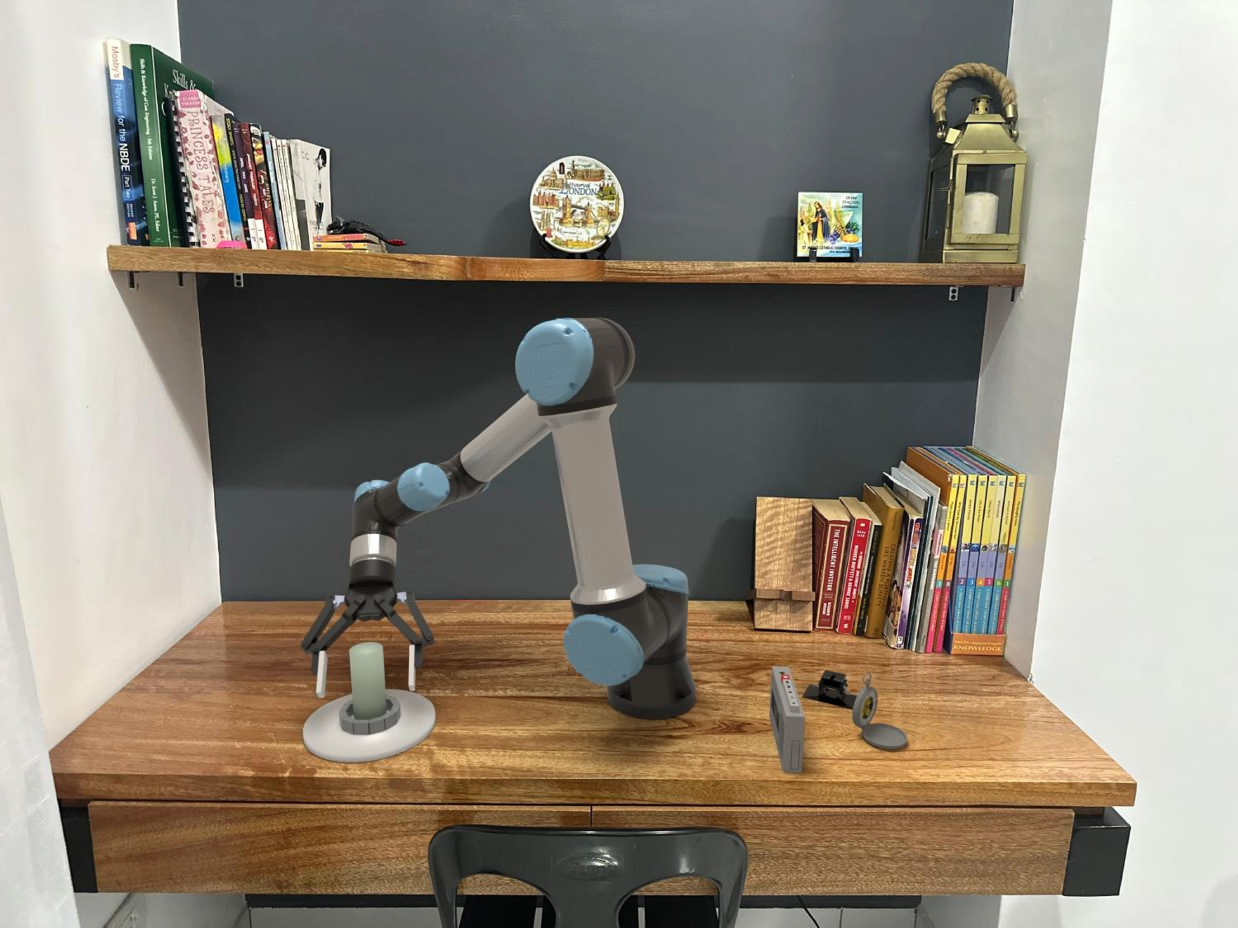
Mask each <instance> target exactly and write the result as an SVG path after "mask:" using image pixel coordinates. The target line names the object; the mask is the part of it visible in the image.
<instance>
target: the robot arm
mask: <svg viewBox="0 0 1238 928" xmlns="http://www.w3.org/2000/svg"><path fill="white" fill-rule="evenodd" d="M516 351H517V352H516V356H515V375H516V376H515V377H516V379H517V383H518V384H519V386H520V389H521V391H523V393H524V394H525V395H524V396H522V397H521V398H520V399H519V400H517V402H516V403H515V404H513V405H512V406H511V407H510V408H509V409H507V411H505V412H504V413H503V414H502V415H500V416H499V417H498V418H497V419H495V421H494V422H492V423H491V424H489V426H487V428H485V429H484V430H483V431H482V432H481V433H479V435H478V436H476V437H475V438H473V440H471V441H470V442H469V443H468V444H466V445H465V447H462V449H461V450H460V451H459V452H458V453H456V454H455V455H454V456H453V457H452V458H451V459H449V460H447V461H443V462H441V463H437V464H433V463H432V464H431V463H430V462H421V463H419V464H417V465H416V466H413V467H410V468H408V469H406V470H405V471H404V472H403V473H402V474H400V475H399V476H398V477H396V478H394V479H392V481H390V482H389V481H386V480H381V479H373V480H371V481H365V482H363V483H361V484H359V486H358V487H357V488H356V490H355V492H354V493H355V494H354V501H353V504H352V524H351V525H352V526H351V538H350V539H351V543H350V552H349V566H350V567H349V569H348V570H349V571H348V584H347V592H346V593H345V595H335V593H334V592H329V593H327V594H326V598H325V602H324V606H323V608H322V609H321V610H320V613H319V614H318V615H317V617H316V619H315V621H314V622H313V624H312V625H311V627H310V628H309V630H308V632H306V635H305V636H304V637H303V640H302V641H301V642H300V647H301V649H302V650H303V651H302V652H303V653H304V654H310V655H311V667H310V671H311V673H312V675H313V676H317V677H316V688H315V689H316V690H315V694H316V695H317V697H318V699H323V698H325V696H326V685H327V684H326V682H327V669H328V659H329V658H328V655H327V653H326V652H327V651H328V650H329V648H330V647H332V645H334V643H335V642H336V641H337V640H338V639H339V638H340V637H341V636H342V635H343V633H344V632H346V630H348V628H349V627H351V626H353V625H354V624H355V622H356V621H360V623H361V622H362V623H363V622H364V623H365V622H368V621H375V622H376V621H377V622H381V620H383V619H386V620H388V621H389V623H391V624H392V625H393V626H394V627H395V628H396V630H398V631H399V633H401V634H402V635H403V637H405V639H407V641H408V642H409V643H410V645H408V646H409V647H408V648H409V652H408V656H409V657H408V659H409V661H408V689H409V691H410V692H414V691H416V669H422V668H423V665H424V663H423V662H424V661H423V659H424V656H423V655H424V653H423V652H424V649H425V648H426V647H428V646H433V645H434V644H435V637H434V634H433V632H432V630H431V628H430V627H429V625H428V623H427V621H426V619H425V617H424V615H423V613H422V612H421V610H420V608H419V607H418V605H417V603H416V600H415V599H416V598H415V594H414V593H415V592H414V589H413V588H410V587H409V588H407V589H405V591H402V592H397V591H396V580H397V579H396V577H397V576H396V574H397V572H396V571H397V569H396V565H397V543H398V529H399V528H400V527H403V526H405V525H407V524H408V523H410V522H412V521H413V520H415V519H417V518H418V517H420V516H423V515H424V514H427V513H430V512H433V511H435V510H438V509H441V508H444V507H446V506H449V505H452V504H454V503H458V502H461V501H464V500H466V499H470V498H471V499H472V498H474V497H476V496H478V495H480V494H481V493H483V492H485V491H486V490H487V489H488V488H489V486H490V484H491V481H492V479H494V478H495V477H497V475H499V474H500V473H502V471H503V470H505V469H506V468H507V467H509V466H510V465H511V464H513V463H514V462H515V461H516V460H518V459H519V458H520V457H522V456H523V455H524V454H525V453H526V452H527V451H529V450H530V449H531V448H533V447H534V446H535V445H536V444H538V443H539V442H540V441H541V440H543V439H544V438H545V437H546V436H547V435H549V434H550V433H551V435H552V440H553V446H554V451H555V458H556V459H555V460H556V463H557V470H558V475H559V481H560V488H561V492H562V499H563V505H564V510H565V515H566V522H567V527H568V533H569V539H570V544H571V550H572V551H571V552H572V556H573V563H574V567H575V572H576V574H575V575H576V579H577V585H576V586H575V587H574V588H573V590H572V591H571V593H570V596H569V598H570V606H571V610H572V611H571V612H572V617H573V619H572V620H571V621H570V622H569V624H568V626H567V628H566V629H565V631H564V635H563V647H564V648H563V649H564V653H565V655H566V657H567V660H568V662H569V663H570V665H571V666H572V667H573V668H574V670H575V671H576V672H577V673H578V674H581V675H582V677H583V678H584V679H586V680H587V681H589V682H590V683H593V684H597V685H600V686H605V687H607V689H606V690H607V691H606V692H607V693H606V694H607V695H606V697H607V698H606V699H607V701H608V703H609V705H610V706H611V707H613V709H615V710H616V711H618V712H620V713H622V714H624V715H627V716H629V717H632V718H633V717H634V718H638V719H645V720H662V719H670V718H673V717H677V716H680V715H682V714H684V713H687V712H688V711H690V710H691V709H692V707H693V706H694V705H695V703H696V697H697V696H696V694H697V693H696V692H697V688H696V682H695V678H694V675H693V673H692V669H691V666H690V663H689V659H688V657H687V650H688V647H687V646H688V645H687V644H688V619H689V618H688V616H689V595H690V591H689V580H688V577H687V575H686V574H685V573H684V572H683V571H681V570H679V569H677V568H674V567H670V566H665V565H659V564H651V563H650V564H645V563H642V564H633V560H632V555H631V549H630V542H629V536H628V529H627V523H626V517H625V511H624V504H623V499H622V492H621V486H620V481H619V474H618V468H617V461H616V455H615V449H614V443H613V437H612V430H611V424H610V416H611V415H612V413H613V412H614V411H615V409H616V408H617V406H618V402H617V399H616V398H617V397H616V390H617V389H618V388H619V387H621V386H622V385H623V384H625V382H626V381H627V380H628V379H629V376H630V375H631V373H632V371H633V370H634V369H633V368H634V364H635V362H636V361H635V356H636V354H635V346H634V343H633V341H632V339H631V337H630V335H629V334H628V332H627V331H626V330H625V329H624V327H623V326H621V325H620V324H618V323H616V321H613V320H611V319H609V318H605V317H588V318H587V317H585V318H584V317H579V318H577V317H575V318H574V317H573V318H571V317H564V318H556V319H552V320H549V321H547V320H546V321H544V322H542V323H539V324H537V325H536V326H534V327H532V328H531V329H530V330H529V331H528V332H527V333H526V334H525V336H524V338H523V339H522V341H521V342H520V344H519V346H518V348H517V350H516ZM398 602H401V603H402V605H404V606H407V607H408V610H409V613H410V615H411V616H412V618H413V620H414V622H415V624H416V626H417V628H418V629H419V631H420V633H421V634H422V636H419V635H418V634H417V633H416V631H415V630H413V628H412V627H411V626H410V625H409V624H408V623H407V622H406V621H405V620H404V619H403V618H402V617H401V616H400V615H399V613H397V612H396V611H397V610H396V609H395V608H394V607H395V606H396V605H397V603H398ZM343 604H345V606H346V608H347V609H346V610H344V611H343V612H342V615H341V616H340V617H339V618H338V619H337V620H336V621H335V623H333V625H331V627H330V628H329V629H327V631H326V632H325V630H326V628H327V626H328V625H329V623H330V621H331V619H332V618H333V616H334V614H335V612H336V610H338V609H340V608H341V606H342V605H343ZM324 632H325V633H324ZM323 633H324V634H323Z"/></svg>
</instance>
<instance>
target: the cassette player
mask: <svg viewBox="0 0 1238 928" xmlns="http://www.w3.org/2000/svg"><path fill="white" fill-rule="evenodd" d="M790 669H791V668H790V666H777V665H776V666H775V665H773V666H772V665H771V675H770V676H771V678H770V679H771V680H770V694H769V695H770V696H769V698H770V699H769V716H768V717H769V720H770V726H771V729H772V732H773V738H774V741H775V745H776V748H777V754H778V757H779V758H778V759H779V761H780V766H781V770H782V773H789V774H790V773H791V774H793V773H794V774H802V772H803V761H804V760H803V759H804V758H803V757H804V744H805V743H804V741H805V728H806V727H805V725H806V724H805V723H806V715H805V713H804V709H803V706H802V703H801V700H800V698H799V697H800V696H799V694H798V693H799V692H798V691H797V688H796V685H795V682H794V679H793V676H792V673H791V670H790Z"/></svg>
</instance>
